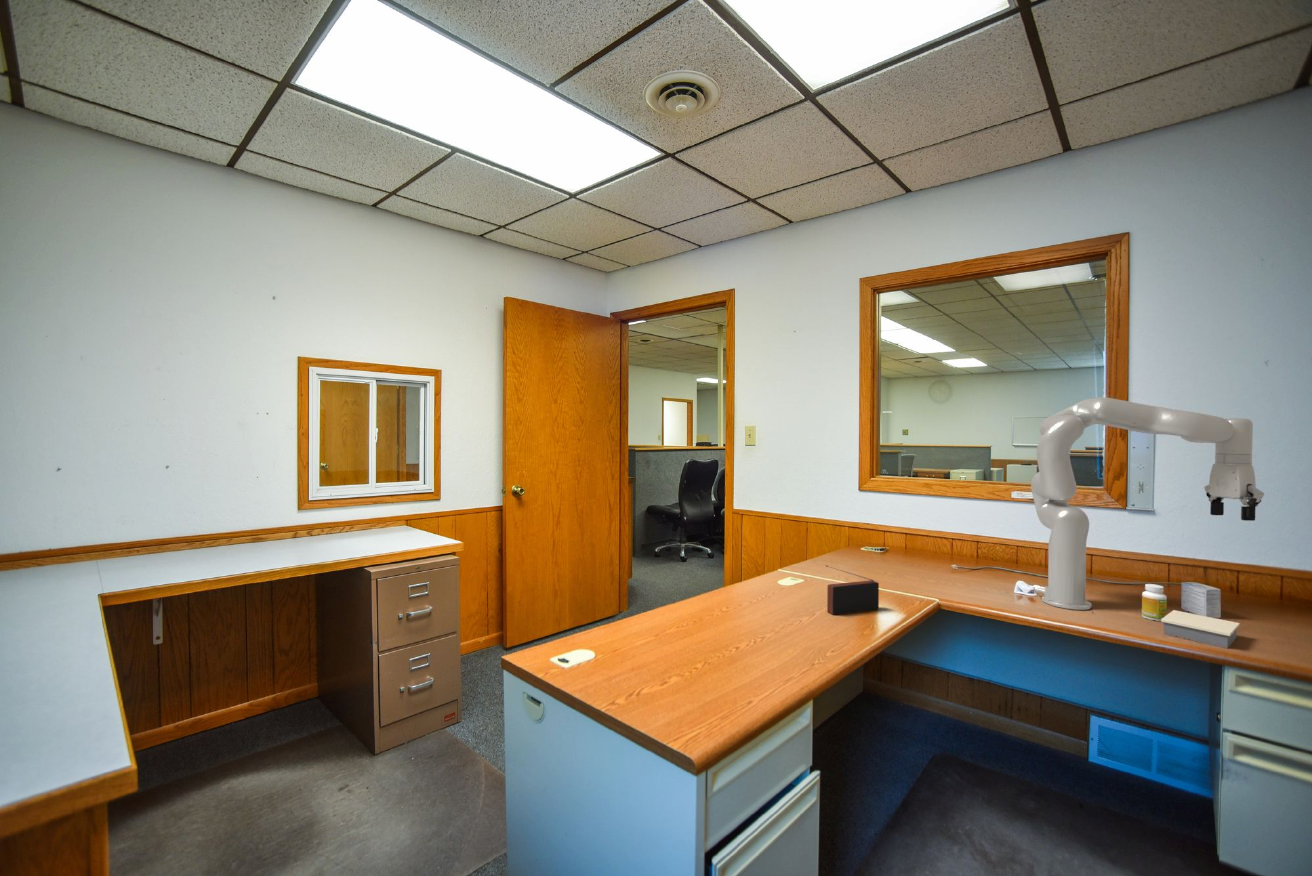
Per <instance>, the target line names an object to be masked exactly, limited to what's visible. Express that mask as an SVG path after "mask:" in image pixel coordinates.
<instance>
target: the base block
mask: <svg viewBox="0 0 1312 876" xmlns="http://www.w3.org/2000/svg"><path fill="white" fill-rule="evenodd" d="M1160 622H1162V623H1163V634H1164V635H1166V634H1168V635H1167V636H1170V635H1171V636H1172V637H1175V636H1177V637H1176V638H1179V637H1183V638H1185V640H1188V639H1191V640H1190V641H1192V640H1193V641H1192V642H1197V641H1198V643H1201V644H1205V643H1206V645H1210V646H1211V645H1212V646H1215V647H1220V648H1222V649H1223V648H1224V649H1228V648H1229V647H1230V646H1231V645H1232V644H1233V643H1234V641H1235V640H1237V632H1238V631H1237V629H1238V628H1239V627H1240V626H1241V625H1240V624H1241V623H1240V622H1235V621H1229V620H1224V619H1222V618H1221V619H1220V618H1211V617H1206V616H1201V615H1197V614H1194V613H1191V612H1187V611H1180V610H1175V609H1173V610H1172V611H1170V612H1169V613H1168V614H1167V615H1166V616H1165V617H1164V618H1162V619H1161V621H1160ZM1171 636H1170V637H1171ZM1183 638H1182V639H1183Z"/></svg>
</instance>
